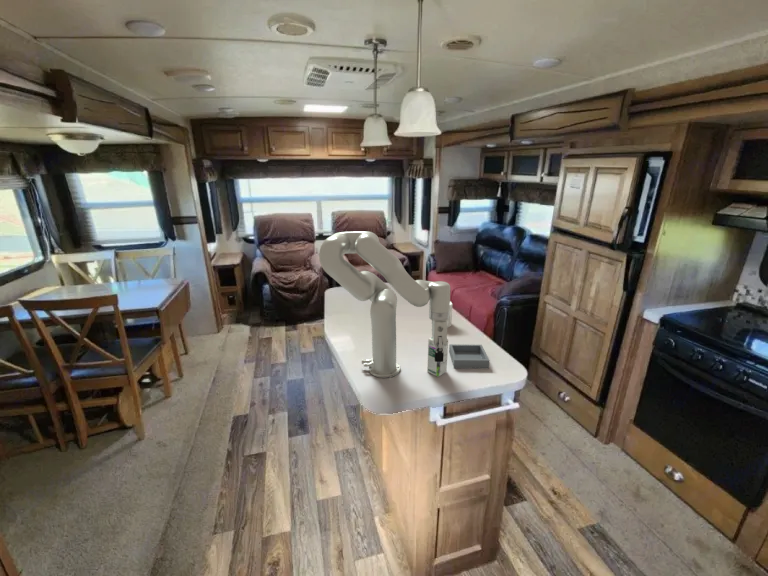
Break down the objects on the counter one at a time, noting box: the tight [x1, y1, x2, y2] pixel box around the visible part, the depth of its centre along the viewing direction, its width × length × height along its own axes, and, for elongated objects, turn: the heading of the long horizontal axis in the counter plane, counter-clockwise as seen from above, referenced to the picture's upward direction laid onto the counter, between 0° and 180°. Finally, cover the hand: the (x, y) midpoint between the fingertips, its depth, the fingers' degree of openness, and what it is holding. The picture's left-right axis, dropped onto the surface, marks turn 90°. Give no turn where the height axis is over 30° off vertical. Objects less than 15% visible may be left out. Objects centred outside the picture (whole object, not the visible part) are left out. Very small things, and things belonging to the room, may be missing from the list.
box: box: [448, 344, 490, 369], centre depth 147 cm, size 14×14×4 cm
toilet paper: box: [447, 300, 453, 328], centre depth 183 cm, size 10×10×12 cm
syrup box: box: [426, 336, 449, 377], centre depth 137 cm, size 6×6×14 cm
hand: (437, 355), depth 137 cm, fingers closed on syrup box, 8 cm apart
